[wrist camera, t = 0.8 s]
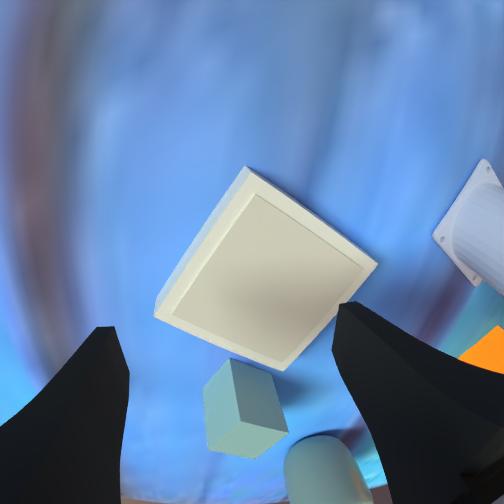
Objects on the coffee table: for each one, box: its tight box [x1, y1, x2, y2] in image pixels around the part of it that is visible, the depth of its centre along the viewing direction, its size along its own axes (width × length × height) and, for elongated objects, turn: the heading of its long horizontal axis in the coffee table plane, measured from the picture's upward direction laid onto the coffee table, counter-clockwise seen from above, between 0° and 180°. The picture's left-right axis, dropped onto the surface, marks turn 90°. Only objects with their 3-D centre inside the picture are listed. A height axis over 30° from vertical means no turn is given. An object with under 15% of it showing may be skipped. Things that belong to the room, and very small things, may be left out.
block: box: [202, 358, 289, 459], centre depth 22 cm, size 4×4×6 cm
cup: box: [284, 435, 374, 504], centre depth 27 cm, size 8×8×10 cm
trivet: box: [154, 165, 378, 371], centre depth 20 cm, size 10×10×3 cm
